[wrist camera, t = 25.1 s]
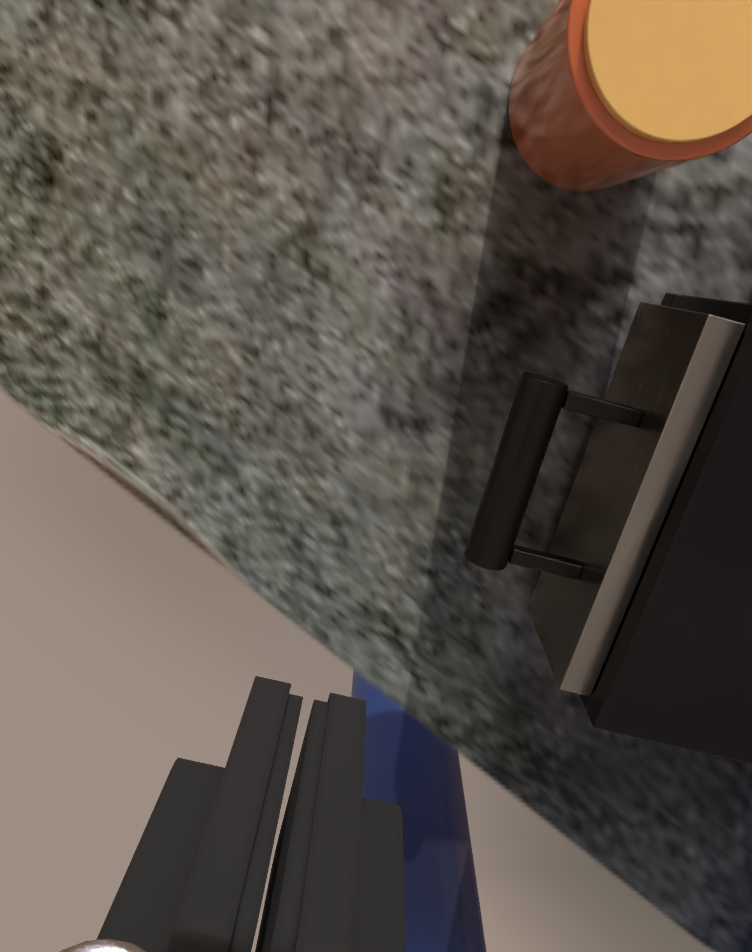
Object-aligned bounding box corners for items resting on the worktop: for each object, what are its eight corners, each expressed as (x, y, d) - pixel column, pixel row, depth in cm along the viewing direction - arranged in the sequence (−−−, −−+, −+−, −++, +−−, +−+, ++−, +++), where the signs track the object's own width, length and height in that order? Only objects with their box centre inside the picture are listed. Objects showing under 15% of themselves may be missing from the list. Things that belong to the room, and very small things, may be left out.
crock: (638, 210, 26) (761, 187, 17) (487, 167, 25) (536, 123, 17) (700, 33, 24) (871, -90, 15) (538, -15, 24) (623, -168, 15)
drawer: (433, 586, 30) (444, 662, 24) (531, 272, 26) (572, 276, 20) (792, 672, 31) (883, 765, 25) (942, 383, 27) (1091, 417, 21)
